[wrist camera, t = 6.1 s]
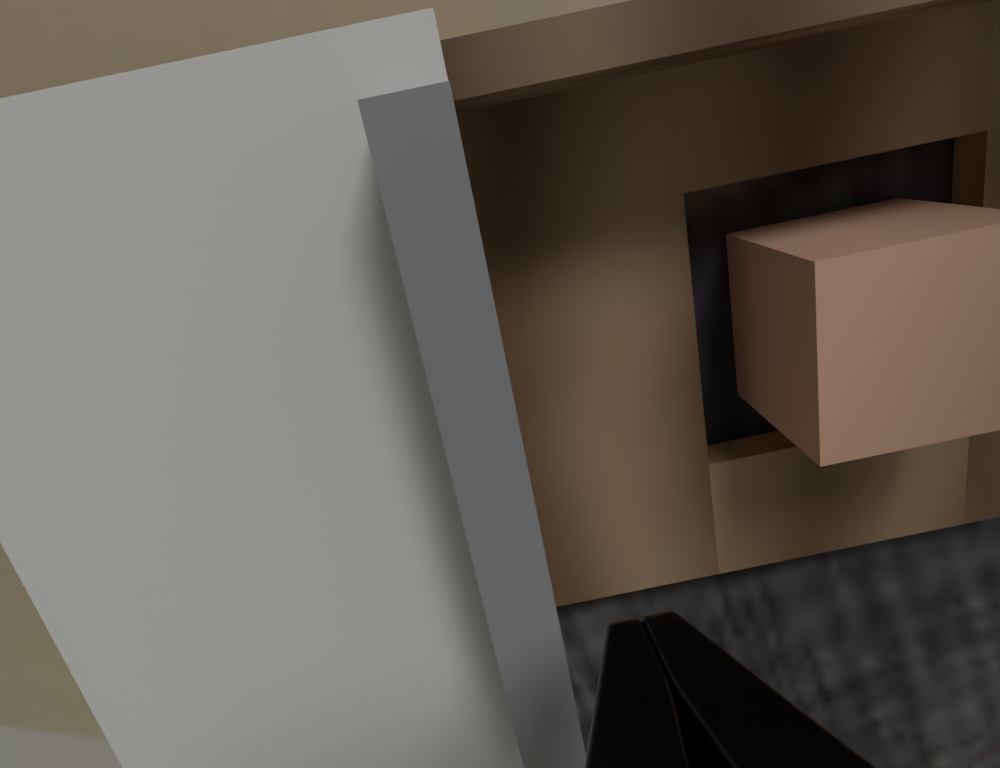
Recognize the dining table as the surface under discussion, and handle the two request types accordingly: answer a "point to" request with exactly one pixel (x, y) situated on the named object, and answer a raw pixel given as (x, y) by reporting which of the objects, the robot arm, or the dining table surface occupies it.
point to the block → (870, 326)
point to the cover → (272, 416)
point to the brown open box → (666, 265)
